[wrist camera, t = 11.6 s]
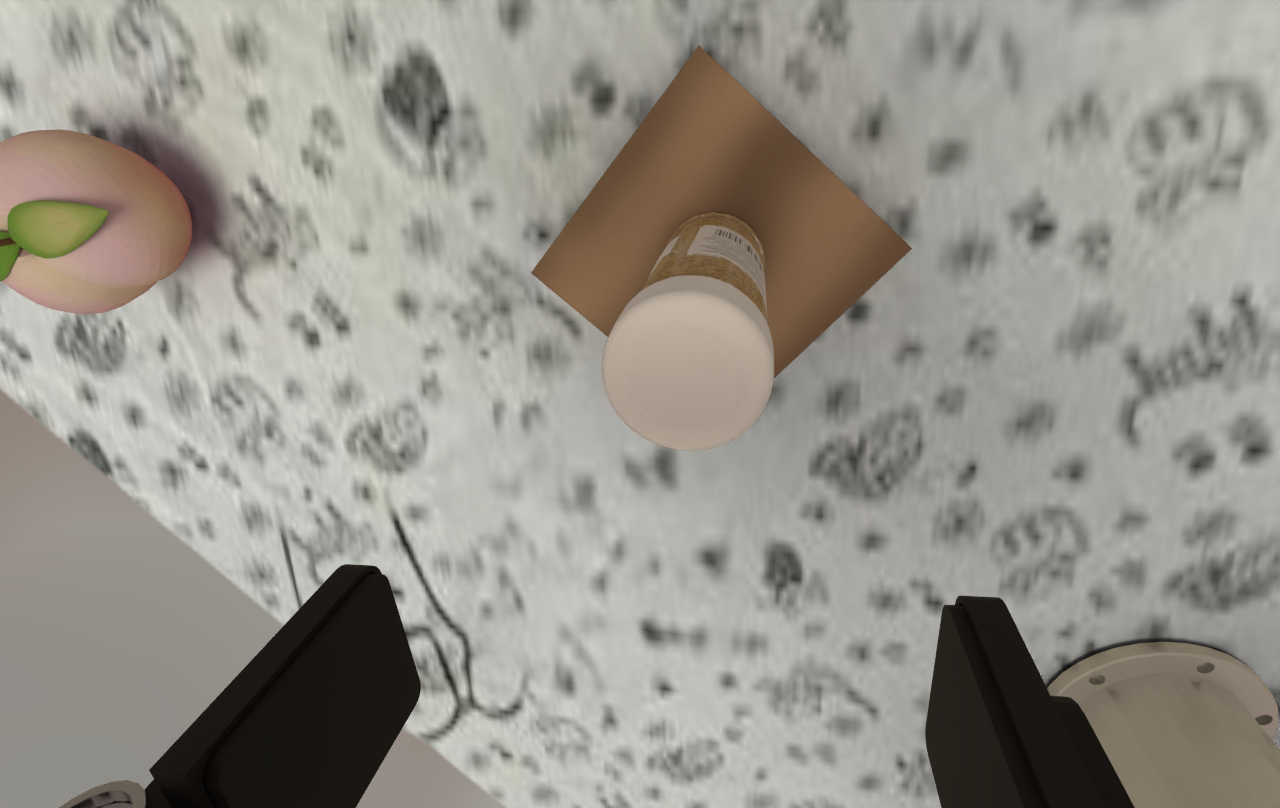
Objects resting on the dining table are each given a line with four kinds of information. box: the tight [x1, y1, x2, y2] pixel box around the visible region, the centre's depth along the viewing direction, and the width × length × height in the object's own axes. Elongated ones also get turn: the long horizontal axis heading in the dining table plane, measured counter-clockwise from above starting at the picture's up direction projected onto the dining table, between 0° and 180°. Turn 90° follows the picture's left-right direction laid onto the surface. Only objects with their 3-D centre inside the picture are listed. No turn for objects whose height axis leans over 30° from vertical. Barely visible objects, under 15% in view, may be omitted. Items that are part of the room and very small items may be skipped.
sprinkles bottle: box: [602, 212, 774, 451], centre depth 22 cm, size 5×5×13 cm
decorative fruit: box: [0, 130, 192, 314], centre depth 31 cm, size 9×8×10 cm
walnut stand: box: [531, 46, 912, 378], centre depth 30 cm, size 12×12×4 cm
